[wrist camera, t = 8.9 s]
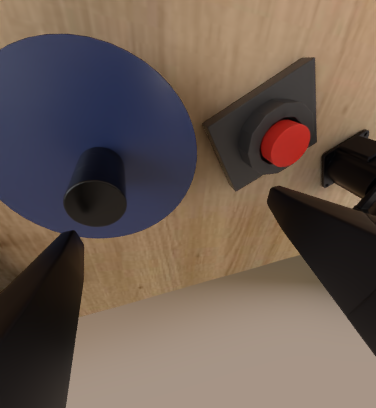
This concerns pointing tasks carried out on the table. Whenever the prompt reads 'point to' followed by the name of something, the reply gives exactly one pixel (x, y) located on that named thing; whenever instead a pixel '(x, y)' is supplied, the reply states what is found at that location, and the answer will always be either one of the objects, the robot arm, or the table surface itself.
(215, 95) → the table surface
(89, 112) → the lid
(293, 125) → the button
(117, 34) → the table surface
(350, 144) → the robot arm
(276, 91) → the switch block
